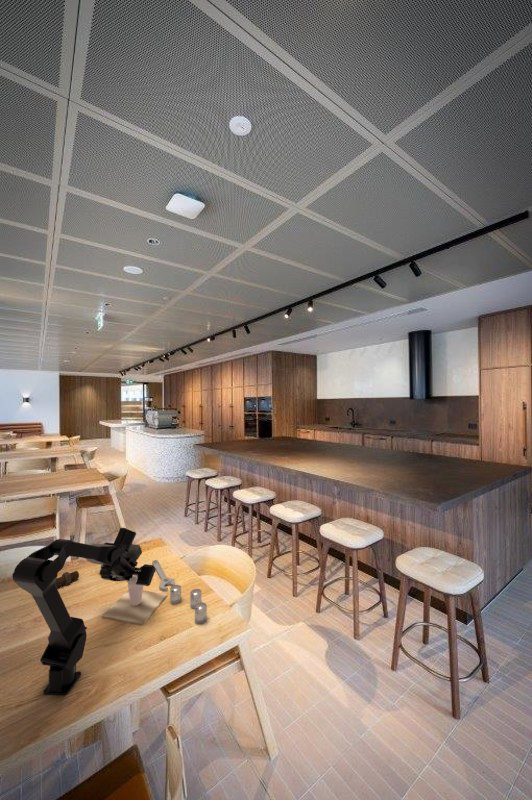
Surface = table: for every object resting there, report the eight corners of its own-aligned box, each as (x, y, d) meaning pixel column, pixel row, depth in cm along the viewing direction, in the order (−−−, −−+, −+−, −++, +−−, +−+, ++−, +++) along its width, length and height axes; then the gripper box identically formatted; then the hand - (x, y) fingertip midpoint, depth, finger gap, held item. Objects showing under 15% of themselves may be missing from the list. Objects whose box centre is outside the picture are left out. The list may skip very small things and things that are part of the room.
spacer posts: (199, 626, 109) (199, 611, 109) (168, 601, 122) (168, 588, 122) (217, 614, 115) (217, 600, 115) (185, 592, 128) (185, 579, 127)
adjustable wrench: (151, 564, 149) (151, 560, 149) (165, 560, 152) (165, 557, 152) (160, 593, 127) (160, 589, 127) (177, 589, 130) (177, 584, 130)
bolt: (78, 583, 136) (37, 601, 124) (73, 574, 138) (32, 590, 126) (82, 574, 134) (40, 590, 122) (77, 564, 137) (36, 580, 125)
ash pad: (142, 625, 109) (142, 622, 109) (101, 617, 113) (101, 615, 113) (167, 596, 125) (167, 594, 125) (130, 590, 128) (130, 588, 128)
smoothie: (132, 595, 122) (133, 559, 122) (148, 598, 121) (148, 560, 121) (122, 606, 116) (122, 567, 116) (138, 609, 115) (139, 569, 115)
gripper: (153, 543, 112) (169, 559, 123) (106, 538, 117) (125, 554, 127) (139, 578, 105) (157, 592, 116) (89, 571, 109) (112, 585, 120)
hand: (138, 579), depth 120 cm, fingers closed on smoothie, 6 cm apart
